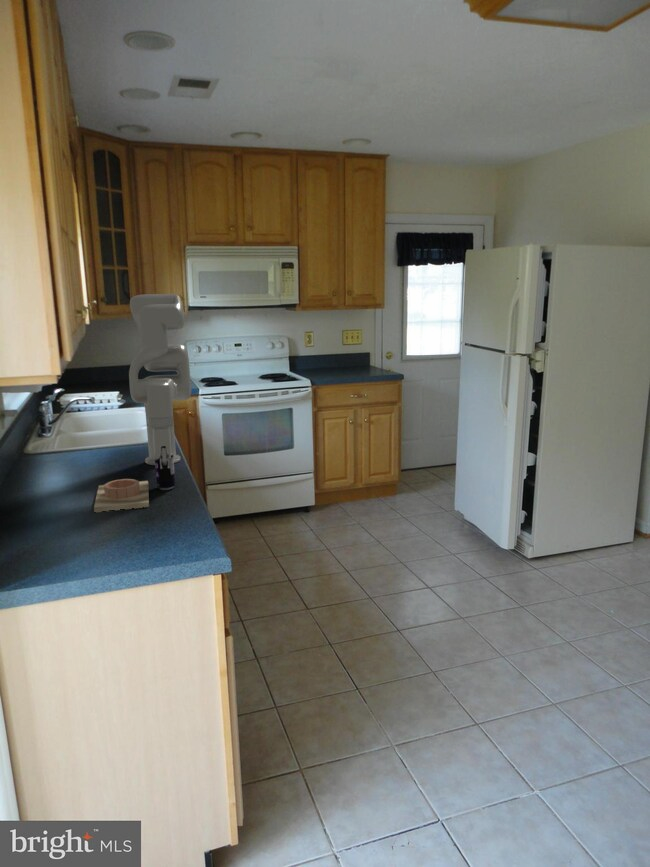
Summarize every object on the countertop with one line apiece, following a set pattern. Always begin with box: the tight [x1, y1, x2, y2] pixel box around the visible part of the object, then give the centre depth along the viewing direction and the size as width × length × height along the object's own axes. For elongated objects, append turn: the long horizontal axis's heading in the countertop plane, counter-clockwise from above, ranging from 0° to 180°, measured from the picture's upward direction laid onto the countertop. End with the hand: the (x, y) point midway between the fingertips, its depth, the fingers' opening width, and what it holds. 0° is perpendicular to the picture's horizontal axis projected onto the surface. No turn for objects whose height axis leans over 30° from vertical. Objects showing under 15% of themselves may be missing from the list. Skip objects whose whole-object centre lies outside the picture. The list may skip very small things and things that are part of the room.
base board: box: [93, 480, 150, 513], centre depth 191 cm, size 22×15×2 cm
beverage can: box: [154, 450, 176, 491], centre depth 199 cm, size 6×6×12 cm
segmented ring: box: [103, 478, 140, 499], centre depth 191 cm, size 10×10×3 cm
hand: (165, 477), depth 200 cm, fingers closed on beverage can, 5 cm apart
